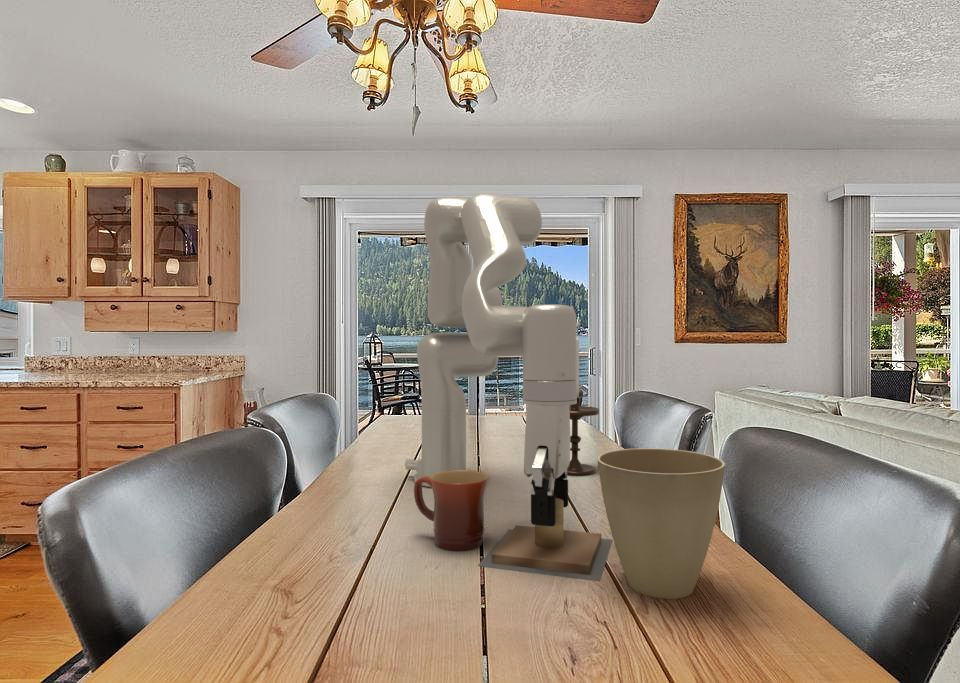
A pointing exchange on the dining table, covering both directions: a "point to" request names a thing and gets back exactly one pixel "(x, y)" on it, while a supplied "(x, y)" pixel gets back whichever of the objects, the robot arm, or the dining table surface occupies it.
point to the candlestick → (575, 415)
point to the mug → (455, 508)
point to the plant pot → (661, 515)
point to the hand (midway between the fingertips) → (550, 515)
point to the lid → (549, 547)
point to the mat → (594, 574)
